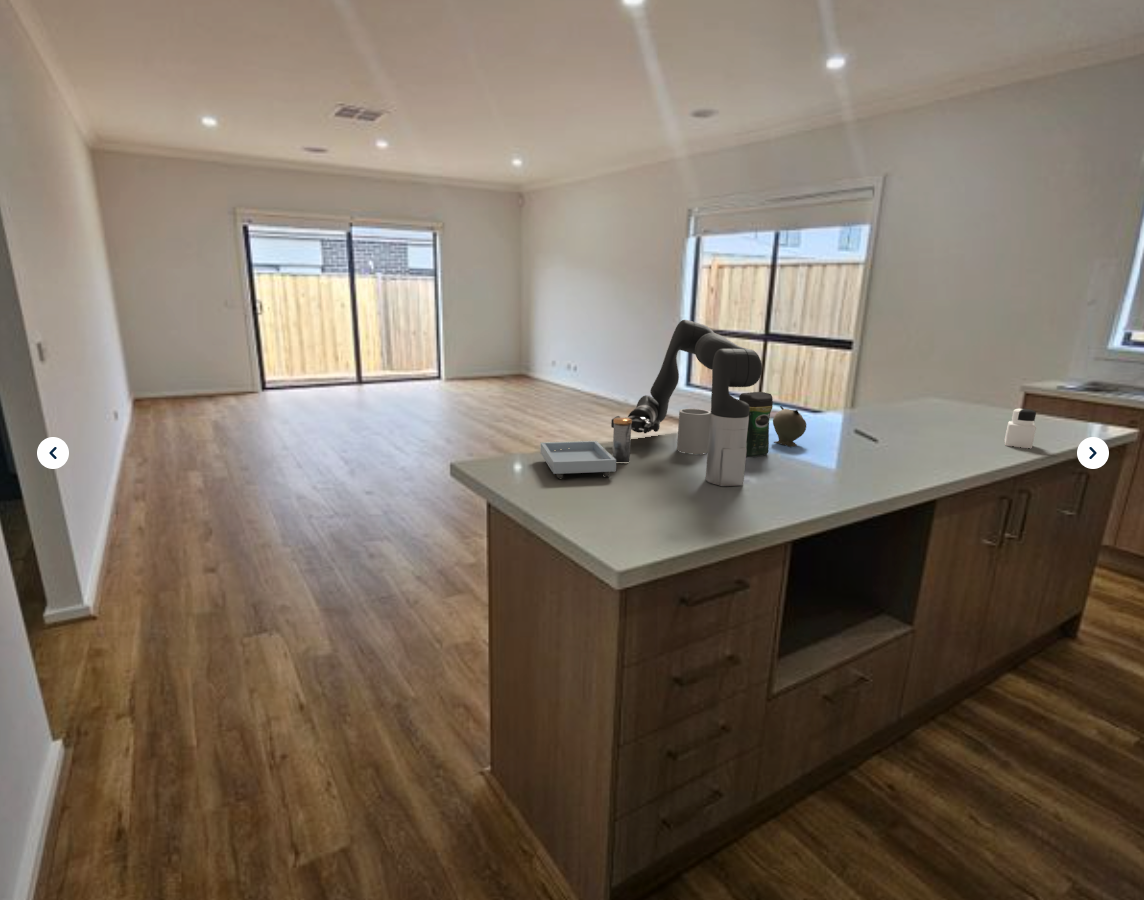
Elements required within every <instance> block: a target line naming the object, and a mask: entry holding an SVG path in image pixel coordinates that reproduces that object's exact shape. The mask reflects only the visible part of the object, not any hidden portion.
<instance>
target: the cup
mask: <svg viewBox="0 0 1144 900" xmlns="http://www.w3.org/2000/svg"><path fill="white" fill-rule="evenodd" d="M710 416H711V410H706V409H700V408H681V409H679V411H678V425H677V426H678V428H677V439H676V440H677V441H676V443H677V444H676V451H677V450H679V451H681V452H685V453H693V454H700V455H704V454H703V453H706V454H707V452H708V440H709V428H710ZM681 452H680V453H681ZM685 453H684V454H685ZM693 454H692V455H693Z"/></svg>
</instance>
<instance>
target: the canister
mask: <svg viewBox="0 0 1144 900" xmlns="http://www.w3.org/2000/svg"><path fill="white" fill-rule="evenodd" d="M613 418H614V428H613V434H612V438H613V439H612V456H613V457H614V458H615V459H616V462H629V461H630V459H631V456H630V455H631V442H632V441H631V438H632V437H631V436H632V429H631V424H632V419H629V418H625V417H620V418H615V417H613ZM629 463H630V462H629Z"/></svg>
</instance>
